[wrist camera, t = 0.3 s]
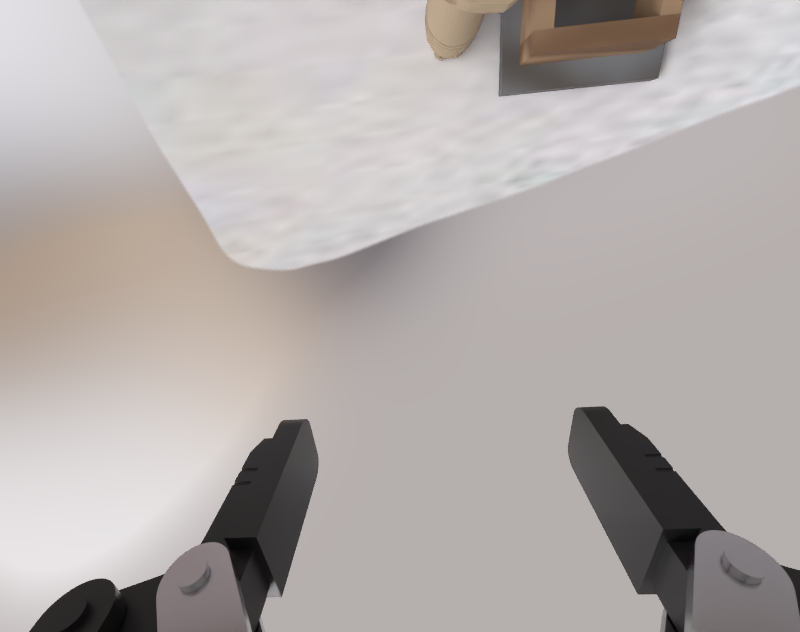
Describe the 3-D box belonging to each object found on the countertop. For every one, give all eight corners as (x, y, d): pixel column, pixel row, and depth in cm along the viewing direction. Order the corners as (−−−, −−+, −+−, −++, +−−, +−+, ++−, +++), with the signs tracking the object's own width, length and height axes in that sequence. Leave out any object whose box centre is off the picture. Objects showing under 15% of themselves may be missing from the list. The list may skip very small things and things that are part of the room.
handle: (426, -16, 27) (441, -194, 14) (494, 28, 28) (572, -98, 15) (400, 51, 29) (390, -48, 16) (464, 89, 30) (509, 29, 17)
